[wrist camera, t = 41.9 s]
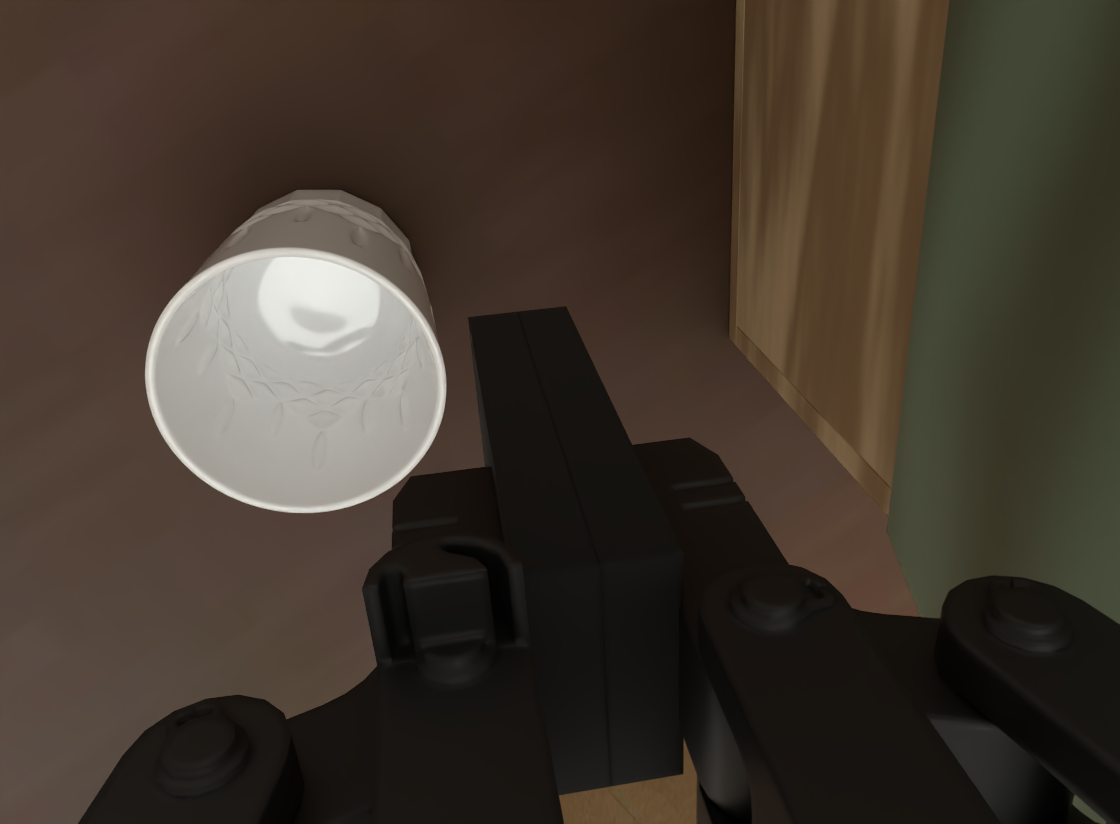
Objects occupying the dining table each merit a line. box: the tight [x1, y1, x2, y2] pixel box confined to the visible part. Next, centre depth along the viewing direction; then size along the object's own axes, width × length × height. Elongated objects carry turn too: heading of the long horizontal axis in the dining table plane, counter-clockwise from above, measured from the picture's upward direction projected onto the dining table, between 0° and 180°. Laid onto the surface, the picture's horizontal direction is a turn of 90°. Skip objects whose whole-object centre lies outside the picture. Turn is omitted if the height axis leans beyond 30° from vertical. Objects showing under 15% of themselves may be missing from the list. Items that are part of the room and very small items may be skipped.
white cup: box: [145, 190, 446, 513], centre depth 29 cm, size 8×8×10 cm
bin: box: [729, 0, 949, 515], centre depth 28 cm, size 15×17×14 cm
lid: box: [887, 0, 1120, 824], centre depth 13 cm, size 16×17×1 cm
